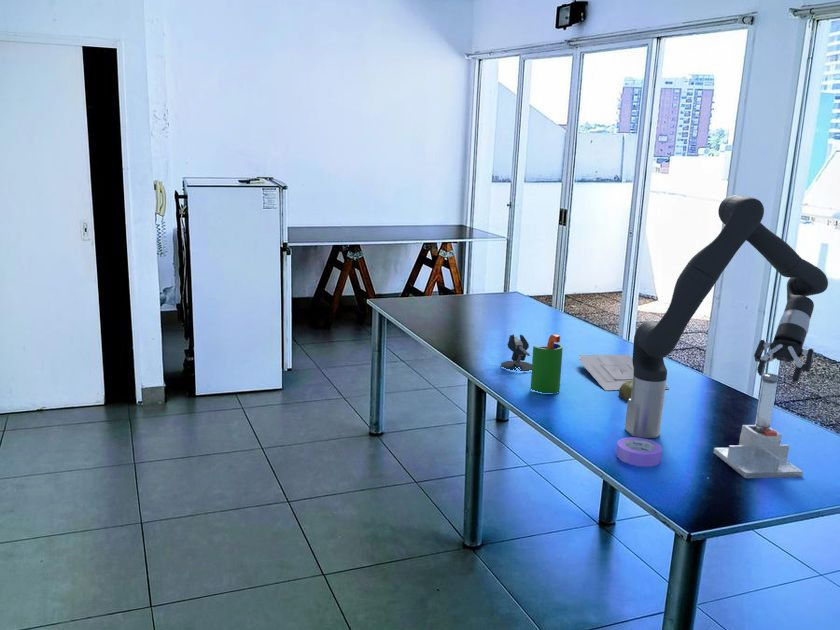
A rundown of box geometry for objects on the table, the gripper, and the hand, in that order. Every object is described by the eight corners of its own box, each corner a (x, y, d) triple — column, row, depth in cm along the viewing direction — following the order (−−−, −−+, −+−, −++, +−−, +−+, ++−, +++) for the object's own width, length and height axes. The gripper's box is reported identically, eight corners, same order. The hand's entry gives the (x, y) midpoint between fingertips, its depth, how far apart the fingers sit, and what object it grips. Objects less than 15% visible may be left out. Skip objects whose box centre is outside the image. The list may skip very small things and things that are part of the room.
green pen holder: (542, 383, 263) (546, 328, 259) (564, 390, 258) (570, 333, 253) (526, 390, 256) (531, 333, 251) (549, 397, 250) (554, 338, 246)
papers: (632, 360, 292) (633, 352, 290) (668, 396, 264) (670, 386, 263) (572, 361, 287) (573, 353, 286) (603, 397, 260) (605, 388, 258)
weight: (652, 392, 260) (654, 378, 259) (666, 405, 247) (667, 391, 246) (613, 391, 260) (615, 377, 259) (625, 404, 247) (626, 390, 246)
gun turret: (512, 379, 267) (515, 344, 264) (495, 362, 286) (497, 329, 283) (546, 378, 270) (549, 343, 267) (526, 362, 288) (529, 329, 285)
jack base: (744, 479, 195) (750, 439, 192) (710, 452, 211) (716, 415, 208) (805, 477, 197) (811, 438, 194) (767, 450, 213) (773, 414, 211)
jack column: (754, 460, 201) (767, 377, 196) (746, 454, 205) (758, 373, 200) (768, 460, 202) (781, 377, 196) (760, 454, 206) (772, 373, 200)
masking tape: (607, 457, 205) (609, 443, 204) (630, 446, 213) (631, 433, 212) (646, 471, 197) (648, 457, 196) (668, 459, 205) (670, 446, 204)
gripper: (764, 317, 214) (748, 365, 208) (820, 326, 206) (804, 376, 199) (766, 332, 219) (750, 379, 213) (820, 341, 211) (805, 390, 205)
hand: (776, 377), depth 206 cm, fingers open, 8 cm apart
